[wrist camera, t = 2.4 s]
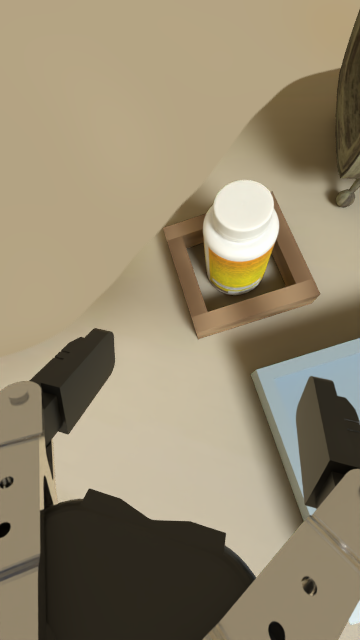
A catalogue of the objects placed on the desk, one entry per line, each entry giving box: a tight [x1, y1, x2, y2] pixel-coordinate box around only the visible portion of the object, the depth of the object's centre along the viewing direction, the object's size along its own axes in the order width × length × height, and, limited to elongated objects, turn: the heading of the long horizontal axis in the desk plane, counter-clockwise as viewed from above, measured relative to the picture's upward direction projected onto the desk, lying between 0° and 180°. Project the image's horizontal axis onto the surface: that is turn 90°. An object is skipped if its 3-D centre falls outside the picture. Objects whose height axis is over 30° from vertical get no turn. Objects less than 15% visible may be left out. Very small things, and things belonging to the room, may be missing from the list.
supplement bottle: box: [203, 180, 279, 295], centre depth 24 cm, size 6×6×10 cm
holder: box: [163, 192, 320, 339], centre depth 28 cm, size 11×11×2 cm
